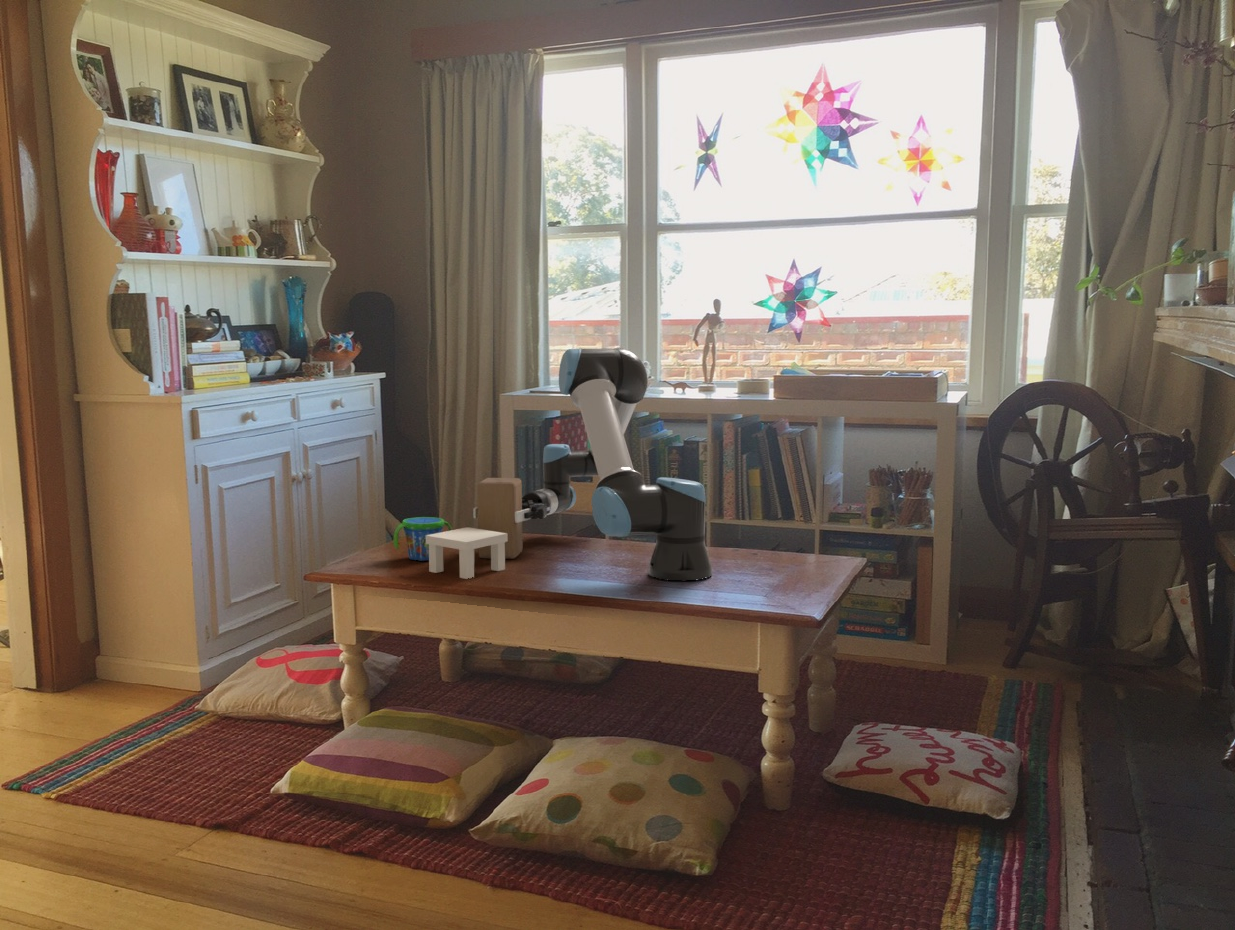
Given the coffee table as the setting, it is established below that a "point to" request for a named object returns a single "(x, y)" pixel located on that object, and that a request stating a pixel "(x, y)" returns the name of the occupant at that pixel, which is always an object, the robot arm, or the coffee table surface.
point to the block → (500, 512)
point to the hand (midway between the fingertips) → (494, 515)
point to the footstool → (466, 548)
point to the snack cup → (419, 535)
